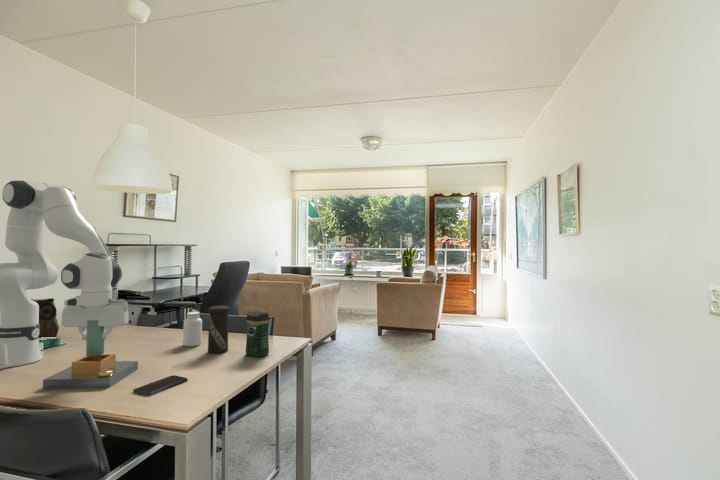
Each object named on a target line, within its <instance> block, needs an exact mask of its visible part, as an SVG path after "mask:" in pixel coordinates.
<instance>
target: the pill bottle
mask: <svg viewBox="0 0 720 480" xmlns="http://www.w3.org/2000/svg"><path fill="white" fill-rule="evenodd" d="M182 328H183V330H182V345H183V346H184V347H197V346H199V345H201V344H202V334H203V319H202V318H201V317H200V312H198V311H190V312H187V313H186V319H184V321H183V327H182Z"/></svg>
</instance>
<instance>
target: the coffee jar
mask: <svg viewBox="0 0 720 480" xmlns="http://www.w3.org/2000/svg"><path fill="white" fill-rule="evenodd" d="M245 322H246V341H245V342H246V343H245V355H246V356H249V357H253V358H254V357H255V358H259V357H266V356H267V355H268V354H269V353H270V347H269V346H270V344H269V343H270V342H269V324H270V313H268V312H265V311H260V310H252V311H249V312H248V313H247V314H246V319H245Z"/></svg>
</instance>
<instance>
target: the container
mask: <svg viewBox="0 0 720 480" xmlns="http://www.w3.org/2000/svg"><path fill="white" fill-rule="evenodd" d="M229 310H230V307H229V306H227V305H213V306H210V307H208V313H209V314H208V337H207V338H208V339H207V343H208V344H207V353H208V354H210V355H211V354H213V355H215V354H216V355H217V354H218V355H219V354H224V353H227V352H228V350H229Z"/></svg>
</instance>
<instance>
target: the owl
mask: <svg viewBox="0 0 720 480" xmlns="http://www.w3.org/2000/svg"><path fill="white" fill-rule="evenodd" d="M29 299H30V300H33V301H35V302H36V303H38V305H39V324H40V334H39V338H41V337H57V336H58V333H59V329H60V326H59V322H58V319H57V307H56V303H55V302H54V301H55V298H52V297H51V298H35V299H33V298H29ZM57 338H58V337H57Z"/></svg>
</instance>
